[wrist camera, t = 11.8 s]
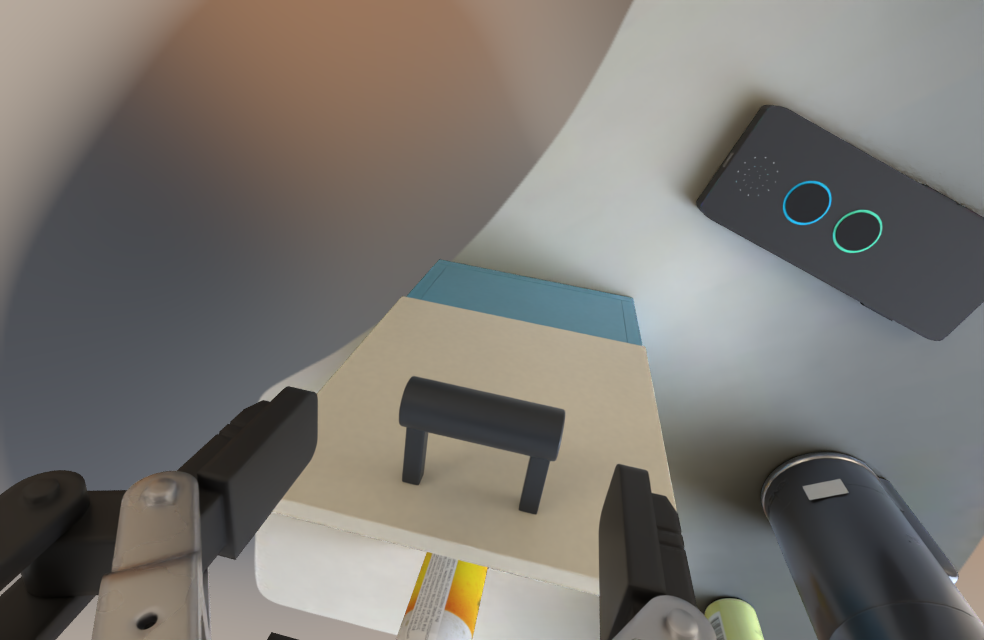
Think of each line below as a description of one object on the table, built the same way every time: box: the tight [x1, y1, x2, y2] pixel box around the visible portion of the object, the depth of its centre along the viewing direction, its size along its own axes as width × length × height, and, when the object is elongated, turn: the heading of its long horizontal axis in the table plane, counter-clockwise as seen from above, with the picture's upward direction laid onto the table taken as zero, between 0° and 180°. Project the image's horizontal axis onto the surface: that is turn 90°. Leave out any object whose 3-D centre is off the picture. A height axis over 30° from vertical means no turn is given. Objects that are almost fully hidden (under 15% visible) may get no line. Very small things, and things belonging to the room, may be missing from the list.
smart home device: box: [696, 105, 984, 341], centre depth 36 cm, size 8×2×20 cm
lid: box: [272, 296, 677, 596], centre depth 25 cm, size 18×16×5 cm
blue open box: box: [406, 259, 642, 346], centre depth 42 cm, size 17×16×9 cm
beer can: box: [396, 552, 488, 640], centre depth 48 cm, size 6×6×15 cm
